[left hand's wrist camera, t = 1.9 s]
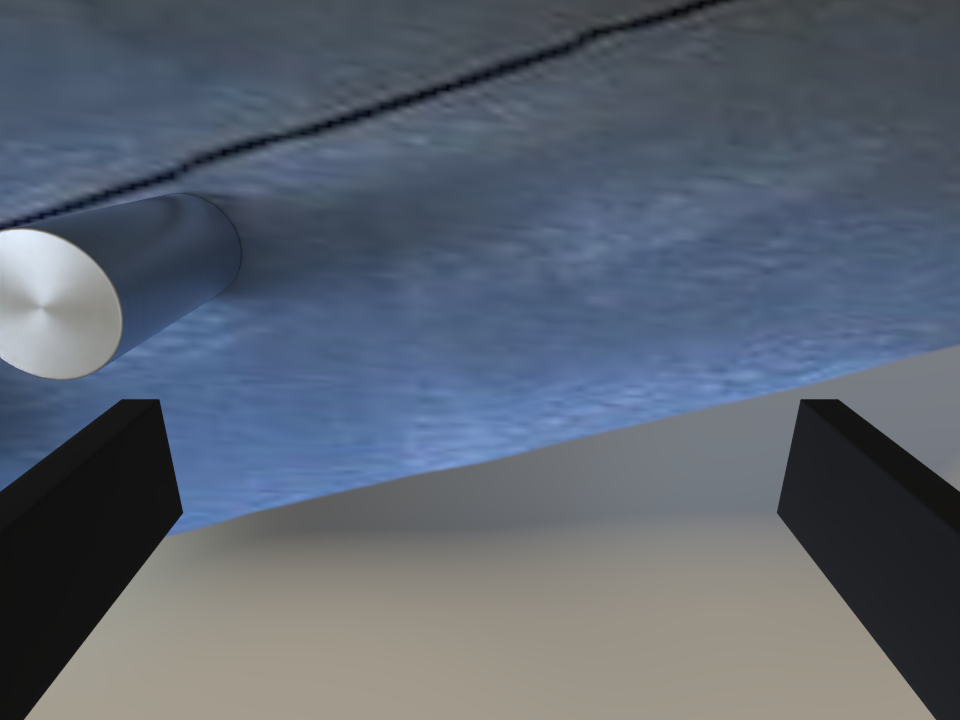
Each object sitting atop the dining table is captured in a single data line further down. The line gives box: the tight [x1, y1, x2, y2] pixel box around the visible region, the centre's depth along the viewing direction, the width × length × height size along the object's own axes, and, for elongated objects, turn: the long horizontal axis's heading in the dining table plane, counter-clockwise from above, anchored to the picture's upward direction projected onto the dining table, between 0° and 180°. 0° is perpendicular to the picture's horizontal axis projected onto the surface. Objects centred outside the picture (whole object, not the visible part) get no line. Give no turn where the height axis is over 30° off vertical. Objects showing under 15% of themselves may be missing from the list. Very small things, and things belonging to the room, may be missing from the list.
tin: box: [0, 193, 241, 380], centre depth 27 cm, size 6×6×12 cm
